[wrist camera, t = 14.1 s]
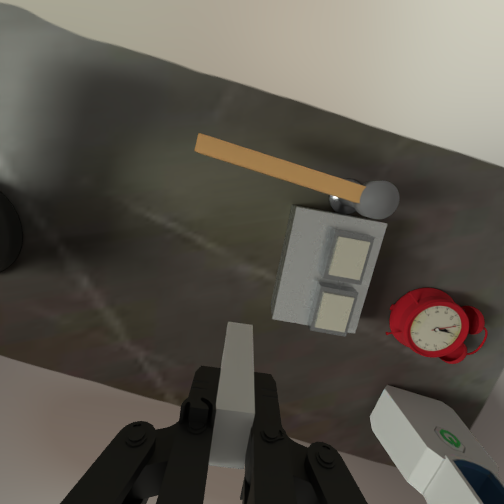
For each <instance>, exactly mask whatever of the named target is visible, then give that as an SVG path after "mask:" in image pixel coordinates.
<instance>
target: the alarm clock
mask: <svg viewBox="0 0 504 504" xmlns="http://www.w3.org/2000/svg"><path fill="white" fill-rule="evenodd" d="M463 309H464V310H465V312H464V310H463ZM390 310H392V311H391V314H390V329H391V332H390V333H388V332H386V335H389V334H393V335H394V337H395V338H396V339H397V340H398V341H399V342H400V343H402V344H403V345H405V346H407V347H410V348H411V349H412V350H413V351H414V352H416V353H418V354H420V355H422V356H426V357H439V358H440V359H441V360H443V361H444V362H446V363H449V364H456V363H459V362H461V361H462V360H463V359H464V358H465V357H466V355H470V354H474V353H475V352H477V351H478V350H479V349H480V348H481V347H482V346H483V344H484V342H485V341H486V338H487V330H486V328H485V327H484V324H485V321H484V317H483V315H482V313H481V312H480V311H479V310H478V309H476V308H475V307H472V306H463V307H460V306H459V305H458V304H456V303H455V302H454V301H453V299H452V298H451V297H450V296H449V295H448V294H446V293H445V292H443V291H441V290H438V289H435V288H419V289H416V290H413V291H411V292H410V291H409V292H408V293H407V294H405V295H404V296H403V297H401V298H400V299H399V300H398V301H397V302H396V304H395V305H393V304H392V305H391V307H390ZM483 329H484V330H485V337H484V340H483V342H482V343H481V345H480V346H479V347H478V348H477V349H476V350H475V351H473V352H471V353H467V347H466V346H465V344H464V343H463V342H464V341H465V339H466V337H467V335H468V334H471V335H472V334H478V333H480V332H481V331H482V330H483Z"/></svg>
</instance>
